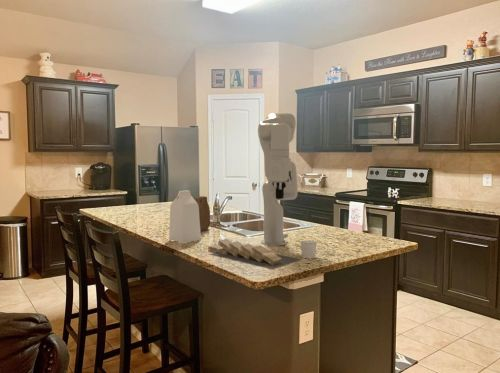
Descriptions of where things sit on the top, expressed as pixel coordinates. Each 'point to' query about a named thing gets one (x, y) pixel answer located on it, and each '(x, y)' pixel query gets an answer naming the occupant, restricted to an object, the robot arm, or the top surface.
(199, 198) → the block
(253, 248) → the domino
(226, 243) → the domino
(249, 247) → the domino
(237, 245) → the domino
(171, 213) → the milk
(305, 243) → the shot glass
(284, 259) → the mat
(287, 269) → the top surface
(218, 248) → the end domino
